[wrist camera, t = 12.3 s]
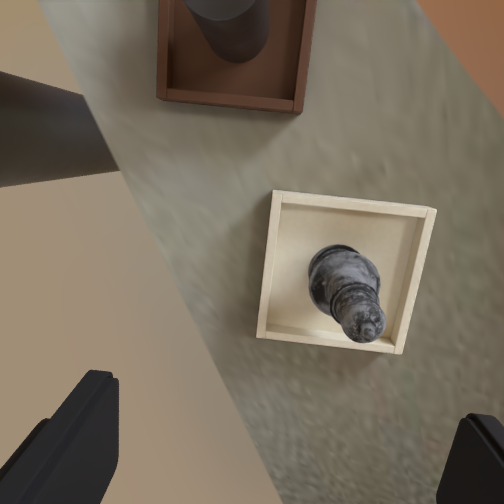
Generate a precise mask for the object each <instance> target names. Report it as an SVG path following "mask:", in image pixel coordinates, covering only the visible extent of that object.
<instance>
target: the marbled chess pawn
mask: <svg viewBox="0 0 504 504" xmlns="http://www.w3.org/2000/svg"><path fill="white" fill-rule="evenodd" d="M308 276H309V285H308V288H309V295H310V297H311V299H312V302H313V303H314V305H315V306H316V307H317V308H318V309H319V310H320V311H321V312H323V313H324V314H326V315H328V316H331V317H333V319H334V320H335V321H336V322H337V323H339V324H340V325H341V327H342V329H343V331H344V333H345V335H346V336H347V337H348V338H349V339H351V340H352V341H354V342H357V343H363V344H364V343H370V342H373V341H375V340H376V339H378V338H379V337H380V336H381V335H382V334H383V332H384V330H385V328H386V317H385V314H384V312H383V310H382V309H381V307H380V299H379V296H378V295H379V292H380V287H381V282H380V275H379V273H378V270H377V268H376V267H375V265H374V264H373V263H372V262H371V261H370V260H369V259H368V258H366V257H365V256H363V255H361V254H360V253H359V252H358V251H356V250H355V249H354V248H352V247H350V246H347V245H341V244H335V245H330V246H327V247H325V248H323V249H321V250H320V251H319V252H317V253H316V254H315V256H314V257H313V258H312V260H311V262H310V264H309V269H308Z"/></svg>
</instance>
